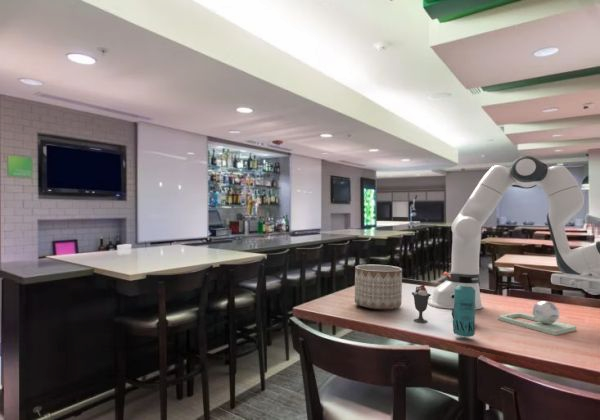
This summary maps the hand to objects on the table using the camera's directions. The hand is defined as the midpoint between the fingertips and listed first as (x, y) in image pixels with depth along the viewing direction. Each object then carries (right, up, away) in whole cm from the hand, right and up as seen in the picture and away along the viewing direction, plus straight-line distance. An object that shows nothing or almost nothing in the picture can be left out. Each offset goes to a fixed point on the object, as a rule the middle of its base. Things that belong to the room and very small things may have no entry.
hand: (574, 284), depth 123 cm
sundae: (-47, -16, +13) cm, 51 cm away
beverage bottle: (-39, -16, -5) cm, 43 cm away
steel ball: (-4, -12, +8) cm, 15 cm away
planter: (-58, -16, +33) cm, 69 cm away
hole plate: (-6, -17, +12) cm, 22 cm away
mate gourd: (-32, -17, +12) cm, 38 cm away
